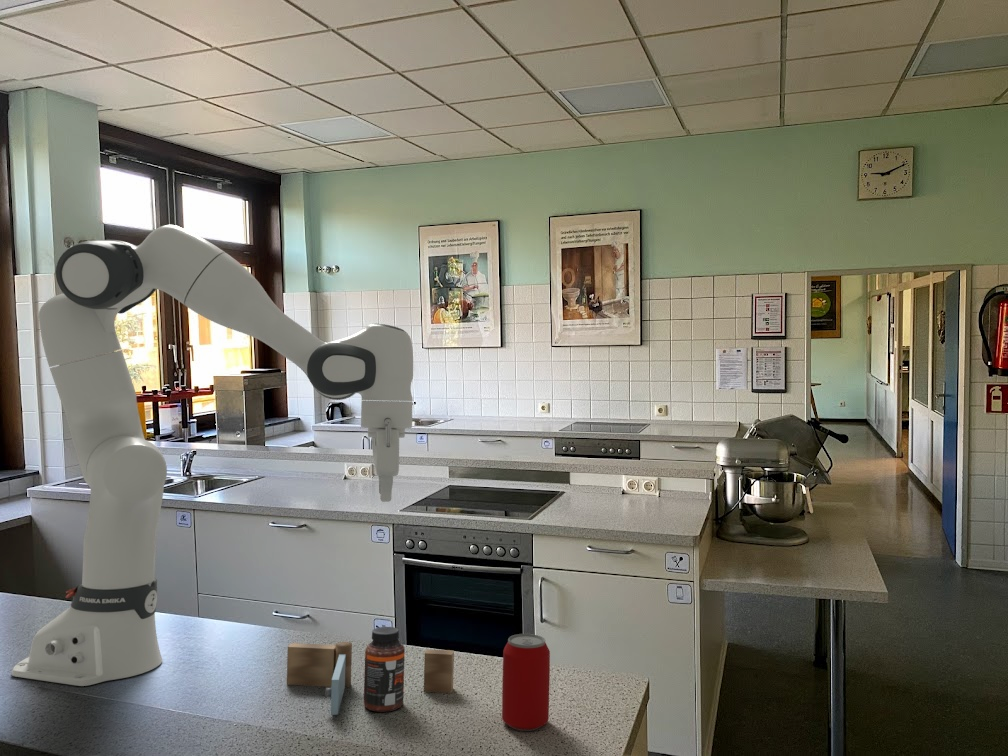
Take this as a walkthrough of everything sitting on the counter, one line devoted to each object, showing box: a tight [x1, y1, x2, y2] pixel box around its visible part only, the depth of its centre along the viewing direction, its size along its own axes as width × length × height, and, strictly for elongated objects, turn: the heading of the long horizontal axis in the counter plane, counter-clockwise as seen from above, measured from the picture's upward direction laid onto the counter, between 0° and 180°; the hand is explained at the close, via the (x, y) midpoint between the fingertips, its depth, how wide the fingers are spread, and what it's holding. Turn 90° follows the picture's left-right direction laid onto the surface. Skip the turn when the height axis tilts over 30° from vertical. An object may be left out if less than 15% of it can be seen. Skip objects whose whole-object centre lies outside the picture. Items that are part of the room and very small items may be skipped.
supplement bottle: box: [363, 626, 406, 713], centre depth 116 cm, size 6×6×11 cm
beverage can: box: [501, 633, 551, 732], centre depth 111 cm, size 7×7×12 cm
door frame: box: [286, 641, 455, 694], centre depth 124 cm, size 27×3×6 cm, turn 85°
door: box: [324, 654, 346, 716], centre depth 117 cm, size 11×2×5 cm, turn 7°
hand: (384, 497), depth 134 cm, fingers open, 8 cm apart
